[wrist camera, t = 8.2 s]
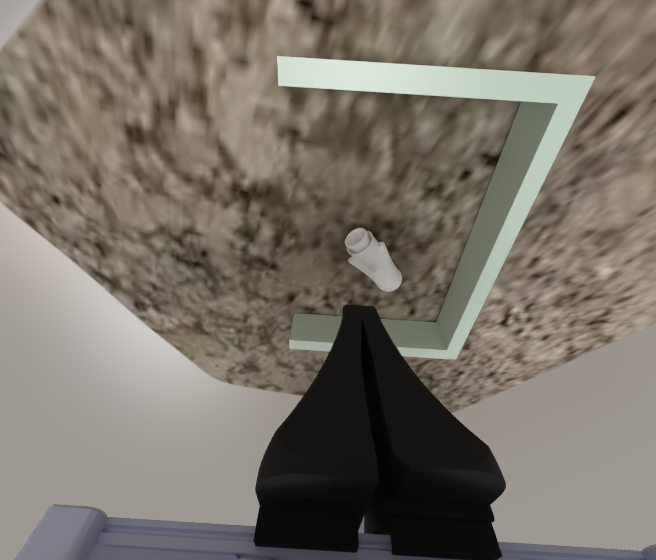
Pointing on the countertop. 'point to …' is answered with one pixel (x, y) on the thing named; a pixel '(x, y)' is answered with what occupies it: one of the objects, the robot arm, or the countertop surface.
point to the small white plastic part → (372, 259)
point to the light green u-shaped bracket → (500, 199)
